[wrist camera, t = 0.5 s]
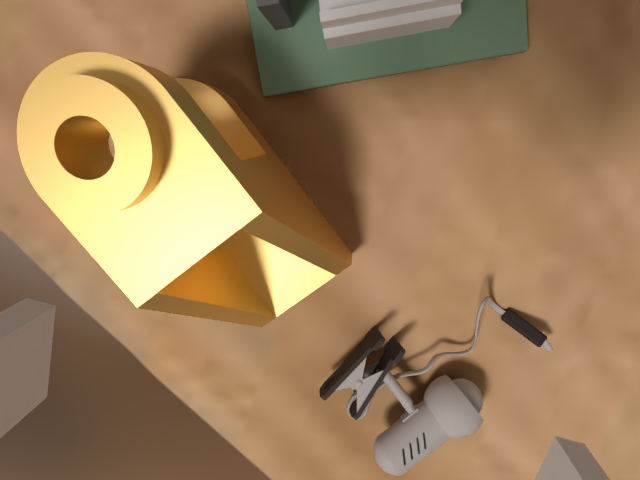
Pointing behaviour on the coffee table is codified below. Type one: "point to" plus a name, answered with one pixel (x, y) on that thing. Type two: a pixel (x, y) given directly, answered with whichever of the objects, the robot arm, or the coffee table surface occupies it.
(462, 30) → the heatsink base
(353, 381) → the clip-on lamp
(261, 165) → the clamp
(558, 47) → the coffee table surface
